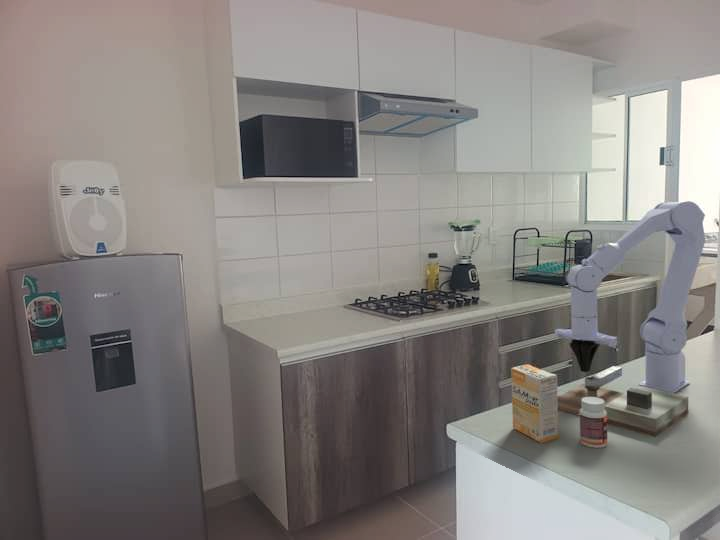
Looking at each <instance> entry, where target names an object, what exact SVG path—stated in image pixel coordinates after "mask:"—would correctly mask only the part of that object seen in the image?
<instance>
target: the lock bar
mask: <svg viewBox="0 0 720 540" xmlns="http://www.w3.org/2000/svg"><path fill="white" fill-rule="evenodd" d="M622 376H623V367H621V366H617V365H612V366H611V367H608V368H606V369H604V370H602V371H600V372H598V373H596V374H594V375H592V376H589V377H587V376H586V377H585V378H584V384H585V388H586V389H588V390H599V389H600V388H602V387H603V386H605V385H607V384H609V383H610V382H612V381H614V380H616V379H618V378H620V377H622Z"/></svg>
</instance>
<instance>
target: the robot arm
mask: <svg viewBox="0 0 720 540" xmlns="http://www.w3.org/2000/svg"><path fill="white" fill-rule="evenodd" d="M705 216H706V214H705V213H704V212H703V210H702V209H701V208H700V206H698V204H696V202H693V201H690V200H685V201H680V202H679V201H675V202H674V201H671V202H670V201H663V202H659V203H658V204H657V205H655V207H654V208H651V209H650V210H648V211H647V212H646V213H645V215H644V216H643V217H642V218H641V219H640V220H638V221H637V222H636V223H635V224H634V225H632V227H631V228H629V230H628V231H626V232H625V233H624V234H623V235H622V236H621V237H620V238H619V239H617V241H615V242H613V243H612V242H606V243H605V244H599V245H598V246H597V247H596V249H597V250H596V251H595V252H594V253H593V254H591V255H590V256H588V258H584V259H582V260H581V264H577V265H573V266H572V267H571V268H570V270H569V271H568V274H567V275H566V276H565V279H566V282H567V284H568V285H569V286H570V314H571V315H570V316H571V320H570V321H571V329H568V328H567V329H566V328H565V329H564V328H556V329H554V338H555V339H560V338H561V339H567V340H571V342H570V343H569V347H570V348H571V349H572V351H573V354H574V355H575V358H576V359H577V363H578V367H579V370H580V372H583V373H587V372H589V371H591V367H592V363H593V360H594V357H595V355H596V352H597V350H598V349H599V347H600V345H602V346H603V345H604V346H609V347H611V348H614V347H617V346H618V337H617V336H612V335H607V334H604V333H600V332H598V330H599V329H598V327H599V326H598V325H599V324H598V323H599V322H598V289H599V288H600V287H601V285H602V281H603V279H604V278H605V277H606V276H608V275H609V274H610V273H612V272H613V271H614V270H615V269H616V268H617V267H619V266H620V265H621V264H623V263H624V262H625V260H626V254H627V253H628V252H630V251H631V250H632V249H634V248H635V247H636V246H638V245H639V244H640V243H642V242H643V241H644V240H646V239H648V238H649V237H650V236H651V235H653V234H654V233H659V232H664V233H666V234H667V235H669V237H670V239H671V240H672V241H673V242H674V243H675V246H674V248H673V249H674V250H673V253H672V256H671V259H670V263H669V266H668V269H667V273H666V275H665V279H664V282H663V286H662V288H661V292H660V295H659V298H658V303H657V306H656V307H655V308H653V309H652V310H650V312H649V313H648V315H647V318H646V319H645V320H644V322H643V323H641V326H640V328H639V334H640V335H639V336H640V337H641V339H642V340H643V341H644V342H645V344H644V345H645V349H644V350H645V352H644V353H645V379H644V380H643V381H641V382H639V383H638V386H642V387H647V388H651V389H656V390H661V391H665V392H670V393H675V394H676V392H678V391H680V390H681V389H683V388H684V387H686V386H687V385H689V384H690V380H686V356H685V354H684V352H683V349H684V348H685V347H686V345H687V342H688V337H687V328H688V322H687V320H686V318H685V316H684V311H685V307H686V304H687V301H688V298H689V294H690V291H691V289H692V285H693V281H694V279H695V275H696V273H697V269H698V265H699V262H700V260H701V256H702V253H703V250H704V247H705V242H706V237H705V229H704V224H703V223H704V220H705Z"/></svg>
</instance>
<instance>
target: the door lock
mask: <svg viewBox="0 0 720 540" xmlns="http://www.w3.org/2000/svg"><path fill="white" fill-rule="evenodd" d="M584 397H597V398H601V399H603V400H604V401H605V409H604V410H605V411H606V412H607V424H608V423H609V425H613V426H616V427H619V428H623V429H626V428H627V430H631V431H633V430H634V431H633V432H637V433H640V432H641V433H640V434H644V435H648V436H651V437H658V436H659V435H661V434H662V433H663V432H665V430H667V429H668V428H670V427H671V426H672V425H673V424H675V423H676V422H678V421H679V420H681V418H683V417H684V416H685V415H687V414H688V413H689V396H688V395H684V394H679V393H676V392H675V393H671V392H666V391H661V390H657V389H652V388H647V387H642V386H639V385H637V386H635V387H630V388H629V389H627V390H626V392H625V393H624V392H621V391H616V390H611V389H607V388H604V387H603V388H602V387H600V389H599V390H588V389H586V388H585V383H581V384H580V385H578V386H576V387H574V388H572V389H570V390H568V391H565V392H563V393H562V394H560V395H557V404H558V410H560V411H562V410H564V411H563V412H566V411H567V412H566V413H569V412H571V413H570V414H573V413H575V414H574V415H576V414H579V411H580V409H581V408H582V407H581V399H582V398H584Z"/></svg>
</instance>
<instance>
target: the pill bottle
mask: <svg viewBox="0 0 720 540" xmlns="http://www.w3.org/2000/svg"><path fill="white" fill-rule="evenodd" d="M581 407H582V408H581V409H580V411H579V415H578V416H579V441H580V442H581V444H582V445H584V446H586V447H589V448H594V449H595V448H596V449H598V448H604V447H606V446H607V445H608V423H607V412H606V411H605V410H604V409H605V401H604V400H603V399H601V398H597V397H584V398H582V399H581Z"/></svg>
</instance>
